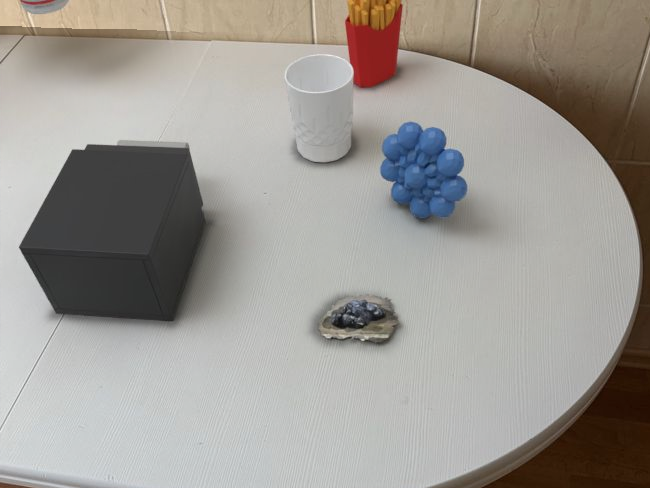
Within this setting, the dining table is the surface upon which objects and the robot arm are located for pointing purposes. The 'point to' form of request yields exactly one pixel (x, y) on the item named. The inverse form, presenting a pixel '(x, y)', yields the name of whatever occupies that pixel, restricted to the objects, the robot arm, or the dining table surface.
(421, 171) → the grapes
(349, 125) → the white cup
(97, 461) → the dining table surface
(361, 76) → the french fries
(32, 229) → the cabinet
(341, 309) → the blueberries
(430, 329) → the dining table surface
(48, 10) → the pill bottle
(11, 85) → the dining table surface
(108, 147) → the drawer
